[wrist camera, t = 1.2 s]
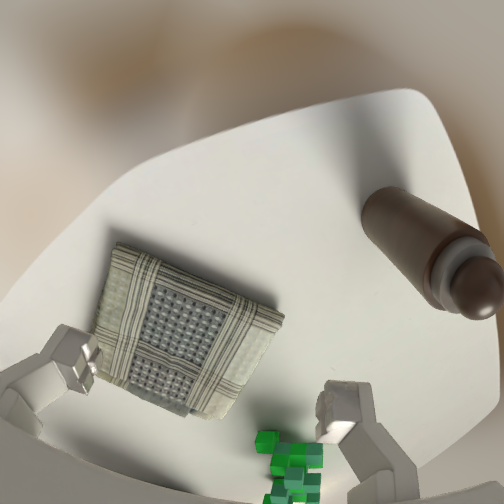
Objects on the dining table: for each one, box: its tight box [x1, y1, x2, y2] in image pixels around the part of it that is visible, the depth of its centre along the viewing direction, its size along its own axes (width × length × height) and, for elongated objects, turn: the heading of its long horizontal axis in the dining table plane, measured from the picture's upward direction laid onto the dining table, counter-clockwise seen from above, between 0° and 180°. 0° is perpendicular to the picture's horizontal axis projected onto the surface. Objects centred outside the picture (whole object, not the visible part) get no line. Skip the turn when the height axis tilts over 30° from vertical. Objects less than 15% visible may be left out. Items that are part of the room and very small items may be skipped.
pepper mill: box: [362, 187, 504, 320], centre depth 20 cm, size 6×6×16 cm
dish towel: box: [90, 242, 285, 420], centre depth 31 cm, size 19×18×3 cm
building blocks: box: [255, 431, 323, 504], centre depth 37 cm, size 20×12×13 cm, turn 24°
